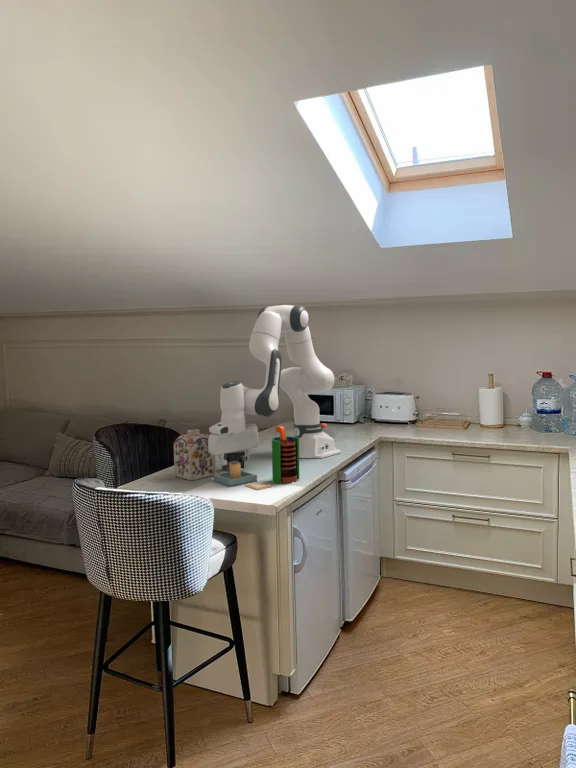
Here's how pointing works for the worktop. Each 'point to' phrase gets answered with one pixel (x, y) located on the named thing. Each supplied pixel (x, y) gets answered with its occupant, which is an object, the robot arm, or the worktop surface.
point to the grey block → (229, 466)
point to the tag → (258, 485)
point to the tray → (244, 479)
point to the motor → (285, 457)
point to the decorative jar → (193, 456)
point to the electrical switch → (234, 458)
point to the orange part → (235, 470)
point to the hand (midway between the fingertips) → (235, 463)
